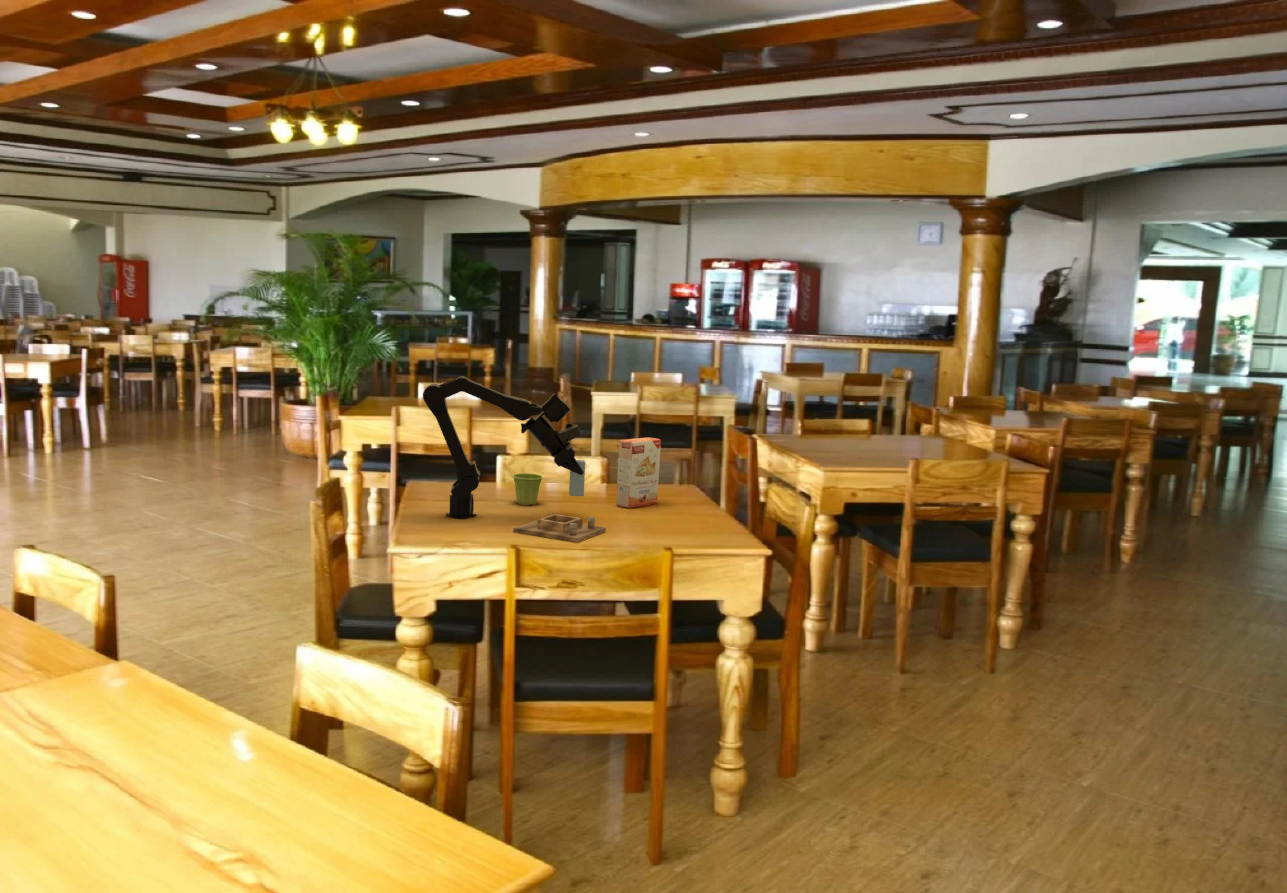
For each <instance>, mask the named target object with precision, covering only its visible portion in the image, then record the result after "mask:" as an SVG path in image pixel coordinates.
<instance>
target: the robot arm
mask: <svg viewBox="0 0 1287 893" xmlns="http://www.w3.org/2000/svg"><path fill="white" fill-rule="evenodd" d="M460 392H461V393H464V394H465V393H466V394H468V395H471V396H472V397H475V398H477V399H479V400H482V401H485V402H487V403H489V404H491V405H494V406H495V407H499V408H500V409H502V410H503V411H504V412H505V413H507V414H508V415H510V416H511V417H513V418H515V419H517V420H519V421H520V422H521V421H522V422H523V421H526V420H527V421H526V422H525V423H524V422H523V423H522V422H521V423H520V427H521V429H520V431H521V432H520V433H521V434H525V433H526V431H528V432H529V433H530V435H532V436H533V437H534V438H535V439H536V440H537V441H538V442H539V443H540V446H542V447H544V449H545V450H546V451H547V452H548V453H549V454H550V456H551V457H552V458H553V462H554V463H555V465H557V466H558V467H561V468H563V469H566V470H569V471H570V470H571V471H573V472H575V473H577V474H579V475H582V474H583V473H584V472H583V471H582V469H581V467H580V466H579V464H578V463H577V461H576V460H577V459H576V458H575V456H576V455H575V454H576V451H575V449H574V447H573V445H572V444H571V442H570V441H571V440H574V439H577V438H581V437H582V436H583V435H582V432H581V430H580V427H579V425H578V424H576V423H575V424H572V423H571V422H567V423H566V424H565V425H564V428H563V429H562V430H560V431H559V430H558V429H556V428H554V427H553V426H552V424H553V423H556V424H557V423H559V422H560V421H561V420H562V419H564V418H565V416H567V415H569V413H570V412H571V411H572V409H571V408H570V407H569V406H568V405H567V403H566V402H565V401H564V400H562V399H561V398H560V397H559V396H558V395H557V394H556V393H553V394H552V395H551V396H550V397H549V399H547V400H546V401H545V402H544V403H542V405H540V404H535V403H531V402H530V401H529V400H528V399H526V398H524V397H523V398H521V397H518V396H513V395H508V394H504V393H501V392H499V391H497V390H495V389H492V388H490V387H488V386H485V385H483V384H480V383H478V382H475V381H474V380H472V379H469V378H468V377H466V376H464V375H460V376H458V377H457V378H455V379H452V380H448V381H446V382H443V383H441V384H437V383H430V384H429V385H427V386H426V387H425V389H424V390H423V392H422V399H423V401H424V403H425V404H426V406H427V407H428V409H429V410H430V412H431V414H432V415H433V416H434V417H435V419H436V421H437V423H438V427H439V428H440V431H441V434H442V436H443V438H444V441H445V443H446V445H447V448H448V450H449V453H450V455H451V457H452V460H453V462H454V466H455V472H456V477H457V480H456V481H455V482H453V484H452V485H451V488H450V493H451V494H450V495H449V512H447V513H446V512H445V516H447V517H452V518H456V519H459V520H460V519H468V518H472V517H476V516H477V515H478V514H477V513H474V505H475V504H474V503H475V502H474V500H475V499H474V493H472V492H473V491H475V490H477V488H478V487H479V484H480V477H481V472H480V470H478V468H477V464H476V460H472V461H470V459H469V458H468V457H467V455H466V451H465V449H464V446H463V444H462V443H461V440H460V437H459V435H458V433H457V431H456V427H455V425H454V422H453V421H452V418H451V416H450V412H449V410H448V409H449V407H448V404H447V398H449V397H451V396H453V395H456V394H458V393H460ZM534 416H536V417H535V418H534ZM544 416H545V417H544ZM546 419H547V420H546ZM548 421H549V422H548ZM571 445H572V446H571Z"/></svg>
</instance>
